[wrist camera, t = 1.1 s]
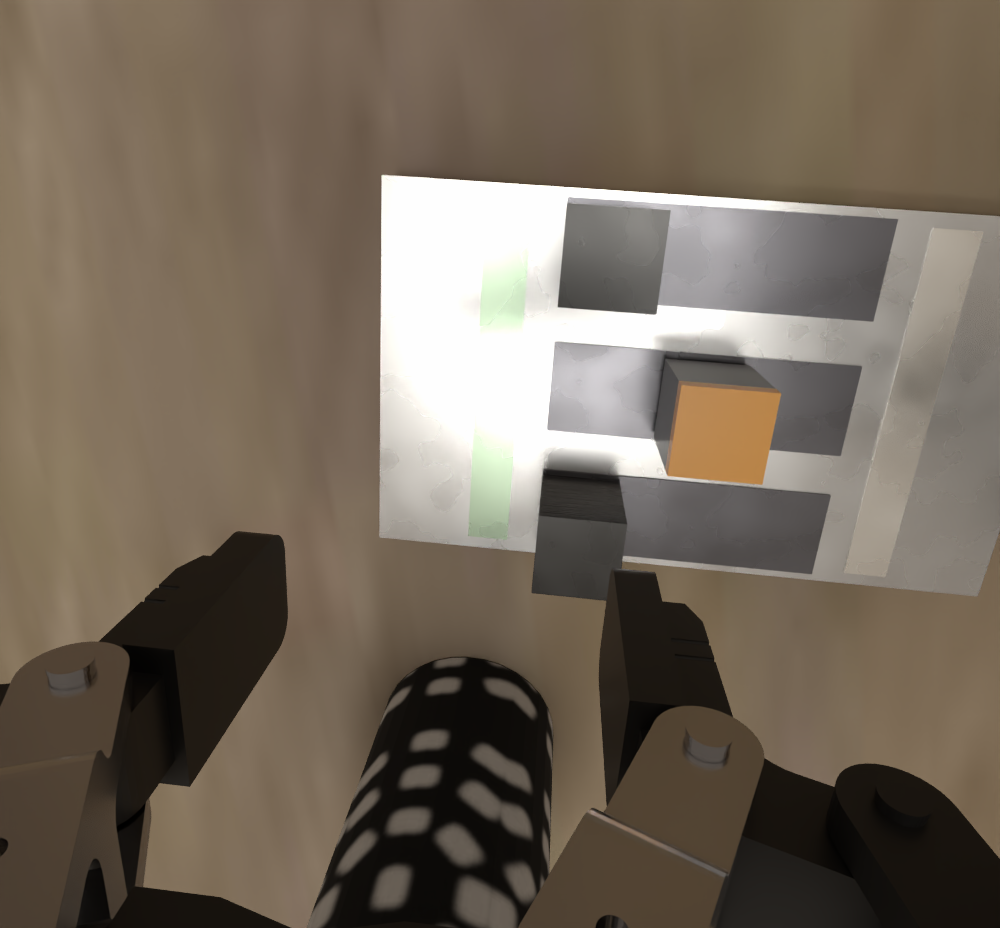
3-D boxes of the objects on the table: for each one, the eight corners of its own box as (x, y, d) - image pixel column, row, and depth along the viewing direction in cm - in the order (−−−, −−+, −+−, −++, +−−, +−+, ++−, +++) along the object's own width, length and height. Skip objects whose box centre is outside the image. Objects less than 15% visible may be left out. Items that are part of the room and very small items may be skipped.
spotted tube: (366, 666, 35) (129, 1214, 16) (537, 647, 33) (496, 1215, 15) (406, 801, 37) (244, 1405, 19) (565, 787, 36) (563, 1420, 17)
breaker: (750, 365, 26) (781, 393, 22) (735, 444, 27) (762, 485, 23) (665, 358, 26) (681, 385, 22) (653, 438, 27) (667, 476, 23)
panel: (1064, 221, 25) (1208, 227, 20) (952, 572, 30) (1041, 658, 25) (394, 176, 27) (347, 170, 21) (390, 517, 32) (351, 586, 26)
